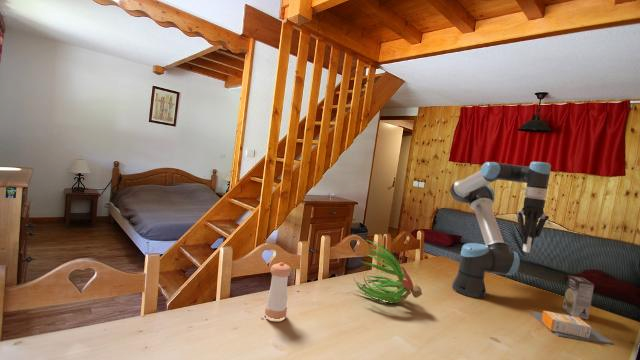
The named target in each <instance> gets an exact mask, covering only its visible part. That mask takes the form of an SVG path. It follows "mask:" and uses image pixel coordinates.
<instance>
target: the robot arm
mask: <svg viewBox="0 0 640 360" xmlns="http://www.w3.org/2000/svg"><path fill="white" fill-rule="evenodd" d="M551 167H552V165H551V164H550V163H549V162H543V161H531V162H530V164H529V166H527V165H526V166H525V165H518V164H509V163H503V162H502V163H501V162H495V161H486V162H484V163H483V165H481V169H480V170H478V171H476V172H475V173H473V174H471V175H469V176H467V177H465V178H464V179H459V180H456V181H454V182H453V183H452V184H451V185H450V187H449V188H450V189H449V193H450V195H451V197H452V199H454V200H455V201H456V202H459V203H464V204H469V207H470V209H471V210H472V211H474V213H475V216H476V219H477V222H478V226H479V229H480V232H481V235H482V238H483V241H484V244H483V243H477V242H468V243H464V244H463V245H462V247H461V251H460V256H459V257H460V258H459V263H458V269H457V274H456V276H455V278H454V279H453V281H452V284H451V288H453V289H455V290H456V291H458V292H460V293H462V294H461V295H463V294H464V295H463V296H466V295H468V296H467V297H469V296H471V298H474V297H476V299H484V298H486V296H487V289H486V283H485V275H486V273H488V274H495V275H496V274H497V275H503V276H506V275H507V276H511V275H514V274H516V273H517V272H518V270H519V268H520V262H521V260H520V255H519V254H518V252H517V251H514V250H511V247H510V244H508V243H507V242H504V238H503V236H502V235H503V234H502V233H501V230H500V227H499V225H498V223H497V219H496V217H495V213H494V210H493V208H492V206H493V204H494V202H495V199H496V198H495V197H496V196H495V195H496V194H495V191H494V189H493V187H491V186H489V184H491V183H493V182H497V181H498V180H499V181H508V182H515V183H523V184H524V183H525V184H526V188H525V193H524V196H525V197H524V199H523V207H522V209H521V210H520V211H515V215H516V217H517V218H516V219H517V226H518V227H517V228H518V234H519V235H522V241H521V243H522V244H523V246H522V251H523V252H525V253H529V254H530V252H531V246H533V245H534V239H535V238H539V237H540V236H541V233H542V231H543V229H544V226H545V224H546V222H547V220H548V219H550V217H549V215H546V214H545V211H544V208H545V204H546V200H545V199H546V197H547V191H548V186H549V181H550V178H551V177H550V176H551ZM453 289H452V290H453ZM455 290H454V291H455ZM456 291H455V292H456ZM458 292H457V293H458ZM460 293H459V294H460Z"/></svg>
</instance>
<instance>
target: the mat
mask: <svg viewBox="0 0 640 360" xmlns="http://www.w3.org/2000/svg"><path fill="white" fill-rule="evenodd" d="M530 315H531V316H533V317H534V318H535V319H536V320H537V321H539V322H540V323H541V324H542V325H544V326H545V327H546V328H547V329H549V328H548V327H547V326H546V325H545V324H544V323H543V322H542V315H543V313H537V312H530ZM550 331H551V332H552V333H554V335H556V336H557V337H559V338H560V337H561V338H566V339H567V338H568V339H573V340H574V339H576V340H582V341H588V342H593V343H594V342H595V343H600V344H606V345H607V344H608V345H614V342H613V341H612V340H610V339H609V338H607V337H606V336H604V335H602V334H601V333H599V332H598V331H596V330H595V329H594V328H592V327H591V330H590V335H589V338H584V337H580V336H575V335H571V334H566V333H561V332H556V331H552V330H550Z"/></svg>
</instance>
